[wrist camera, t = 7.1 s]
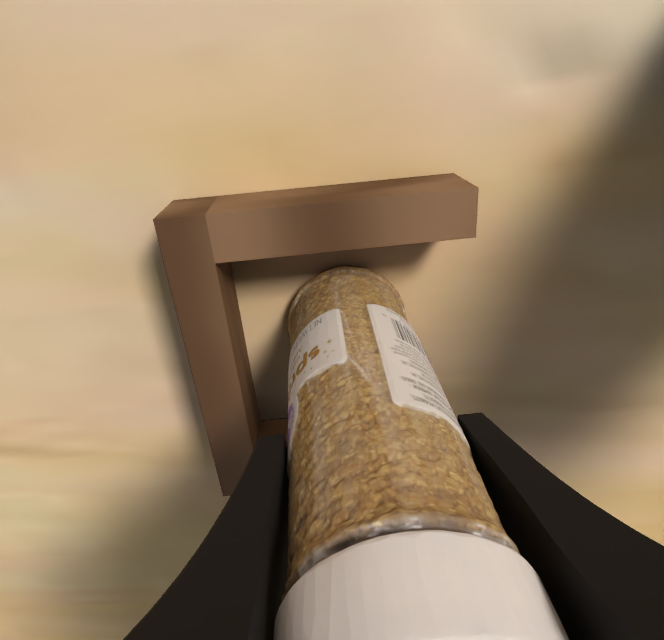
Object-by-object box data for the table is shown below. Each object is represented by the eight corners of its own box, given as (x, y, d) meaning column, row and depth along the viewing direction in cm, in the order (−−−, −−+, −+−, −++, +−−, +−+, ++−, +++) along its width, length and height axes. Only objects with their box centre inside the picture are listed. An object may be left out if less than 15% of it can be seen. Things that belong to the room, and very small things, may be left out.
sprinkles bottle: (271, 282, 18) (214, 714, 6) (392, 248, 17) (606, 627, 5) (307, 381, 20) (321, 855, 8) (415, 352, 19) (608, 797, 7)
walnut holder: (453, 173, 16) (478, 187, 14) (445, 428, 21) (463, 469, 19) (172, 200, 16) (152, 219, 14) (231, 452, 21) (223, 495, 19)
